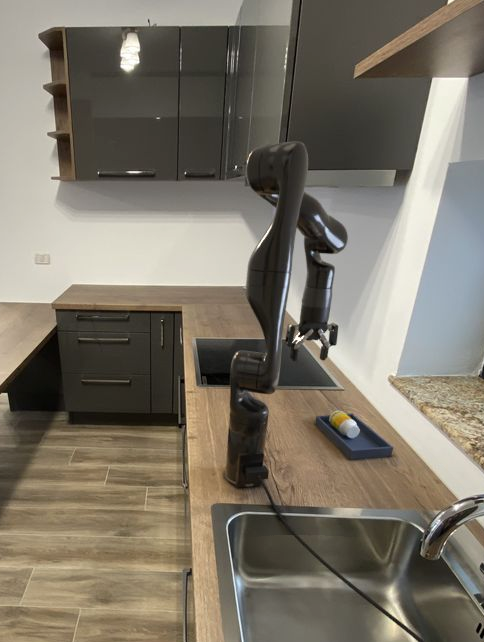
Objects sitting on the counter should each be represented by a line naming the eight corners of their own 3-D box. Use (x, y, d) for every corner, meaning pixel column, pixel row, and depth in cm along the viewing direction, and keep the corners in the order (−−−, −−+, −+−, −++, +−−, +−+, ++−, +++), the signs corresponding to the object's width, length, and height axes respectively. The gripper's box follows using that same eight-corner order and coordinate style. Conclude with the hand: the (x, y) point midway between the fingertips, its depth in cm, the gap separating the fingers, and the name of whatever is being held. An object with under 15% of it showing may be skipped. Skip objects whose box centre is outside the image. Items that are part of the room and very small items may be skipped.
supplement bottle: (347, 419, 138) (364, 433, 130) (332, 428, 139) (348, 443, 130) (341, 406, 136) (358, 420, 127) (325, 416, 137) (342, 431, 128)
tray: (391, 456, 123) (393, 447, 121) (350, 459, 121) (352, 450, 120) (350, 421, 142) (352, 413, 141) (314, 424, 140) (316, 416, 139)
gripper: (296, 306, 116) (289, 365, 122) (347, 305, 118) (338, 363, 124) (285, 301, 123) (279, 357, 129) (334, 300, 124) (325, 355, 131)
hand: (308, 360), depth 127 cm, fingers open, 8 cm apart
